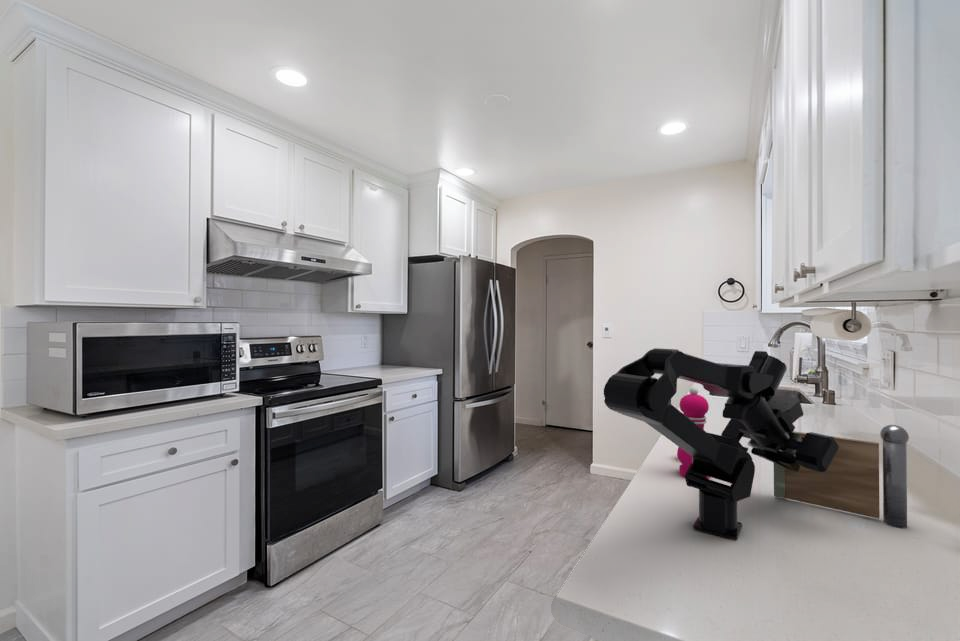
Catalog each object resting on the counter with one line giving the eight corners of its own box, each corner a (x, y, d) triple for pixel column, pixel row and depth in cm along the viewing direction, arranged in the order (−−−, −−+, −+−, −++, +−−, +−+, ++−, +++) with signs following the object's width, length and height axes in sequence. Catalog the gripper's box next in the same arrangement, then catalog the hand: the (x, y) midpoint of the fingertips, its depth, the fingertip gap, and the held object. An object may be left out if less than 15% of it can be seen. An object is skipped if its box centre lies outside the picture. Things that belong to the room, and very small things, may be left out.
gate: (879, 519, 77) (878, 438, 77) (773, 496, 88) (773, 425, 88) (879, 516, 79) (878, 436, 79) (775, 493, 89) (775, 423, 89)
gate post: (911, 530, 74) (910, 428, 74) (882, 525, 76) (881, 425, 76) (907, 523, 77) (906, 424, 77) (880, 517, 79) (879, 421, 79)
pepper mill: (675, 477, 100) (675, 388, 100) (678, 468, 106) (677, 384, 106) (712, 483, 97) (711, 390, 97) (712, 473, 103) (711, 386, 103)
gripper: (832, 389, 75) (870, 448, 79) (730, 377, 92) (766, 425, 96) (802, 442, 72) (843, 499, 76) (703, 418, 89) (741, 466, 93)
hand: (794, 468), depth 85 cm, fingers closed
